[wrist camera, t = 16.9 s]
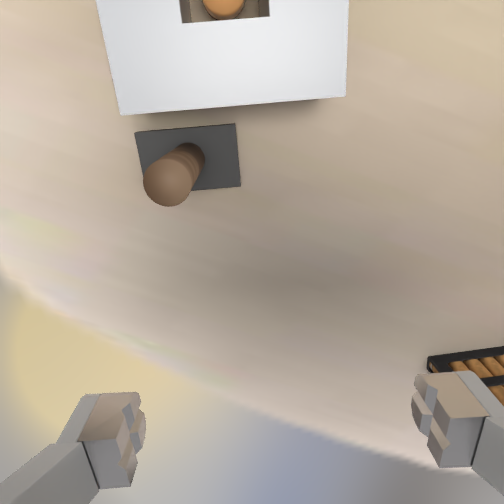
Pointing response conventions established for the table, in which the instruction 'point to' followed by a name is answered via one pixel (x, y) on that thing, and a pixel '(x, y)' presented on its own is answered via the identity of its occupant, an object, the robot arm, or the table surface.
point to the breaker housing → (223, 54)
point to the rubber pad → (211, 143)
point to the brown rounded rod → (174, 174)
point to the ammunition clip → (475, 366)
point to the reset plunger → (223, 8)
